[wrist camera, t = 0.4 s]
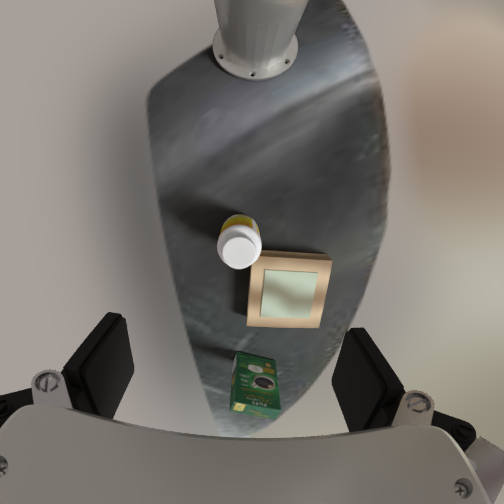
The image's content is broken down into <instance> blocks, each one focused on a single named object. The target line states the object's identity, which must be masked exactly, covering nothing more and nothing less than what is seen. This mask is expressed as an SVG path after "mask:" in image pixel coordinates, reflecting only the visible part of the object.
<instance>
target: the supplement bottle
mask: <svg viewBox="0 0 504 504" xmlns="http://www.w3.org/2000/svg"><path fill="white" fill-rule="evenodd" d="M261 249H262V244H261V239H260V234H259V229H258V226H257V224H256V222H255V221H254V220H253V219H252V218H251V217H249V216H247V215H243V214H236V215H233V216H231V217H229V218H228V219H227V220H226V221H225V222H224V224H223V226H222V229H221V232H220V235H219V239H218V243H217V250H218V254H219V256H220V258H221V259H222V260H223V261H224V262H225V263H226V264H227V265H229V266H230V267H232V268H235V269H243V268H246V267H248V266H250V265H251V264H253V263H254V262H255V261H256V260H257V259H258V257H259V255H260V253H261Z"/></svg>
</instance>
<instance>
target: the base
mask: <svg viewBox="0 0 504 504" xmlns="http://www.w3.org/2000/svg"><path fill="white" fill-rule="evenodd" d="M331 266H332V260H331V259H330V257H329V256H328V255H327V254H315V253H300V252H285V251H270V250H261V253H260V255H259V257H258V259H257V260H256V261H255V262H254V263H253V264H251V269H250V281H249V294H248V306H247V326H258V327H287V328H319V324H320V320H321V315H322V311H323V306H324V301H325V297H326V292H327V287H328V282H329V276H330V271H331Z"/></svg>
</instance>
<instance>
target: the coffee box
mask: <svg viewBox="0 0 504 504" xmlns="http://www.w3.org/2000/svg"><path fill="white" fill-rule="evenodd" d="M230 411H232V412H237V413H242V414H247V415H252V416H257V417H263V418H269V419H274V420H275V419H276V418H277V416H278V415H279V413H280V412H281V405H280V395H279V386H278V378H277V370H276V361H274V360H270V359H267V358H261V357H257V356H253V355H249V354H246V353H241V352H238V351H237V352H236V355H235V358H234V361H233V372H232V385H231V397H230Z"/></svg>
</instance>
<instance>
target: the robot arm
mask: <svg viewBox="0 0 504 504" xmlns="http://www.w3.org/2000/svg"><path fill="white" fill-rule="evenodd" d="M214 2H215V7H216V13H217V18H218V23H219V29H218V30H217V32H216V34H215V36H214V39H213V52H214V55H215V58H216V60H217V62H218V63H219V65H220V66H221V67H222V68H223V69H224V70H225V71H227V72H228V73H230V74H231V75H233V76H236V77H238V78H241V79H245V80H253V81H259V80H267V79H271V78H274V77H277V76H279V75H280V74H282V73H284V72H285V71H286V70H287V69H288V68H290V66H291V65H292V63H293V62H294V60H295V58H296V55H297V52H298V43H297V38H296V36H295V34H294V33H295V31H296V28H297V26H298V24H299V21H300V19H301V17H302V14H303V12H304V10H305V7H306V5H307V2H308V0H214ZM221 57H222V58H223V59H220V58H221ZM285 62H287V63H288V64H285ZM252 74H253V75H254V77H252V76H251V75H252ZM63 368H64V369H63V370H62V372H61V373H60V372H58V371H56V370H44V371H41V372H39V373H38V374H36V375H35V376H34V377H33V379H32V383H31V385H32V388H29V389H25V390H21V391H17V392H13V393H9V394H5V395H0V504H494V502H495V500H496V498H497V496H498V494H499V492H500V490H501V488H502V486H503V484H504V451H503V450H502V449H500V448H498V447H497V446H495V445H494V444H492V443H490V442H489V441H487V440H486V439H484V438H482V437H481V436H480V437H479V438H476V431H475V429H474V427H473V426H472V425H471V424H470V423H468V422H466V421H463V420H460V419H457V418H454V417H451V416H449V415H446V414H443V413H440V412H437V411H435V410H434V402H433V400H432V398H431V397H430V396H429V395H428V394H426V393H424V392H421V391H417V390H412V391H408V392H405V390H404V389H403V388H404V386H403V385H402V383H401V382H400V380H399V379H398V377H397V375H396V374H395V372H394V371H393V369H392V368H391V366H390V365H389V363H388V362H387V360H386V359H385V357H384V356H383V355H382V353H381V352H380V350H379V349H378V347H377V346H376V344H375V343H374V341H373V340H372V338H371V337H370V336H369V334H368V333H367V331H366V330H365V329H364V328H351V329H350V330H349V331H347V332H346V333H345V336H344V340H343V343H342V347H341V350H340V354H339V357H338V360H337V364H336V367H335V370H334V373H333V376H332V386H333V389H334V391H335V394H336V397H337V399H338V402H339V405H340V407H341V410H342V413H343V415H344V418H345V421H346V424H347V427H348V429H349V432H348V433H339V434H331V435H321V436H310V437H293V438H234V437H217V436H206V435H195V434H188V433H180V432H173V431H166V430H160V429H154V428H149V427H144V426H139V425H134V424H130V423H126V422H121V421H117V420H113V417H114V415H115V412H116V410H117V408H118V406H119V404H120V401H121V399H122V397H123V395H124V392H125V390H126V388H127V386H128V384H129V382H130V380H131V378H132V375H133V373H134V363H133V358H132V353H131V348H130V342H129V337H128V331H127V324H126V319H125V318H123V317H122V315H121V314H118V313H112V312H108V313H107V314H106V315H105V316H104V317H103V319H102V320H101V321H100V322H99V323H98V325H97V326H96V327H95V328H94V329H93V331H92V332H91V333H90V334H89V335H88V337H87V338H86V339H85V340H84V342H83V343H82V344H81V345H80V347H79V348H78V349H77V350H76V352H75V353H74V354H73V356H72V357H71V358H70V359H69V361H68V362H67V363H66V365H65V366H64V367H63Z"/></svg>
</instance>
